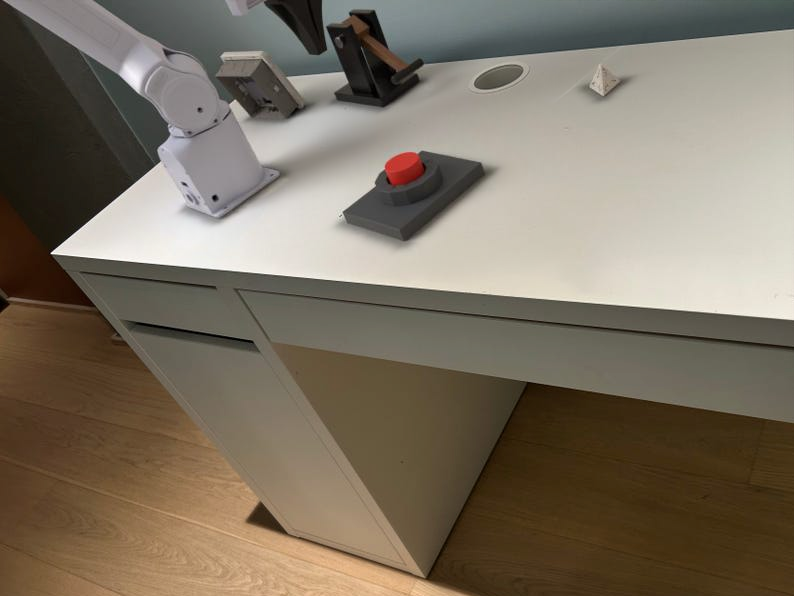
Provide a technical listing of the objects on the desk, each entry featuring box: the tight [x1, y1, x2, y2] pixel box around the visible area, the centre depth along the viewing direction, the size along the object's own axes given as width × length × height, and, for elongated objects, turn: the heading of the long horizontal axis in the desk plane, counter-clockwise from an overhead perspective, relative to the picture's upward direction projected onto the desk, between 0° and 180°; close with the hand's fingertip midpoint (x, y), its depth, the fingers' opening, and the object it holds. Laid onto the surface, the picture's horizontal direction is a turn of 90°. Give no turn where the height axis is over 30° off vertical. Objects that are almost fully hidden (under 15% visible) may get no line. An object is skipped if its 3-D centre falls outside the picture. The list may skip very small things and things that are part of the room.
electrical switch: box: [215, 50, 306, 120], centre depth 99 cm, size 9×5×9 cm, turn 57°
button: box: [384, 151, 424, 186], centre depth 72 cm, size 4×4×2 cm
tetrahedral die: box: [588, 63, 621, 97], centre depth 80 cm, size 4×3×3 cm
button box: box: [341, 150, 485, 242], centre depth 73 cm, size 12×9×3 cm
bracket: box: [325, 8, 421, 108], centre depth 94 cm, size 10×7×10 cm
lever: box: [340, 15, 425, 85], centre depth 91 cm, size 11×5×2 cm, turn 48°
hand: (318, 52), depth 83 cm, fingers closed
